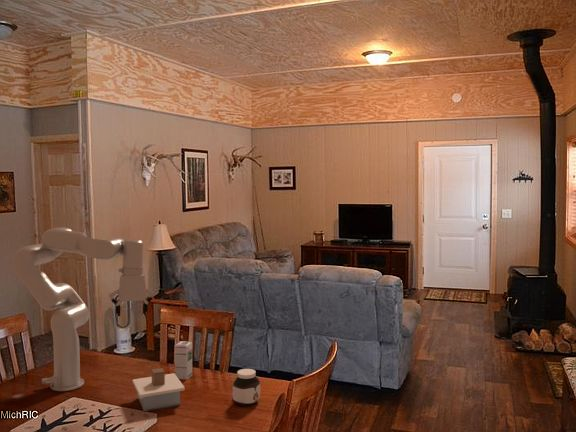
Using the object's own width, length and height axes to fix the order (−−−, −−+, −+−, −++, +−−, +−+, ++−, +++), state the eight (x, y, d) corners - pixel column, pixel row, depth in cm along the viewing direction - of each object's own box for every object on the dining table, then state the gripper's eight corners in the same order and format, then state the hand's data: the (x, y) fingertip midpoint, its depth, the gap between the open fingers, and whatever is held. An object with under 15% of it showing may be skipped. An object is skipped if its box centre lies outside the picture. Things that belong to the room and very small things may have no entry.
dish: (144, 411, 188) (143, 395, 188) (137, 398, 200) (137, 382, 200) (180, 405, 194) (180, 389, 194) (171, 392, 206) (171, 377, 205)
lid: (140, 397, 186) (140, 381, 186) (132, 382, 200) (132, 366, 200) (184, 390, 193) (184, 374, 192) (174, 375, 207) (174, 360, 207)
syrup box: (187, 379, 219) (187, 345, 218) (174, 378, 220) (174, 344, 219) (193, 374, 225) (192, 341, 224) (180, 373, 226) (179, 340, 225)
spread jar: (243, 409, 191) (243, 378, 190) (223, 400, 199) (223, 370, 198) (266, 399, 200) (267, 369, 199) (246, 391, 207) (246, 362, 207)
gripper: (110, 273, 198) (109, 318, 199) (156, 272, 205) (155, 315, 206) (108, 270, 205) (107, 313, 206) (153, 269, 212) (152, 310, 213)
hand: (131, 314), depth 206 cm, fingers open, 9 cm apart
